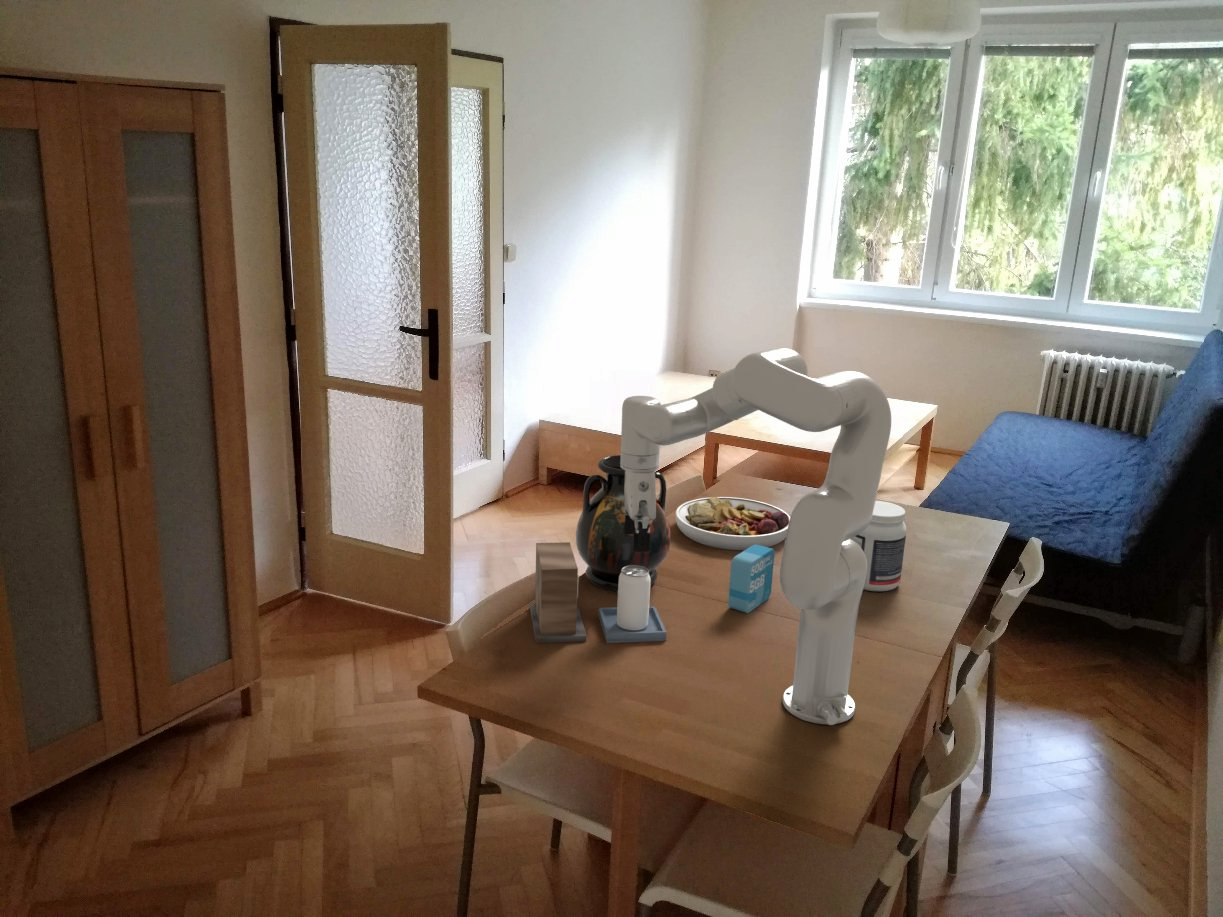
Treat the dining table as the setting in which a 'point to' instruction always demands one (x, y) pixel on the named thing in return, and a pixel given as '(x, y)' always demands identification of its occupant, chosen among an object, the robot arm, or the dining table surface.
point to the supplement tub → (883, 546)
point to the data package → (751, 578)
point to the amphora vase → (617, 529)
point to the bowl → (732, 522)
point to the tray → (616, 634)
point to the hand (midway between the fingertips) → (636, 542)
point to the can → (633, 598)
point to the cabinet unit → (556, 595)
